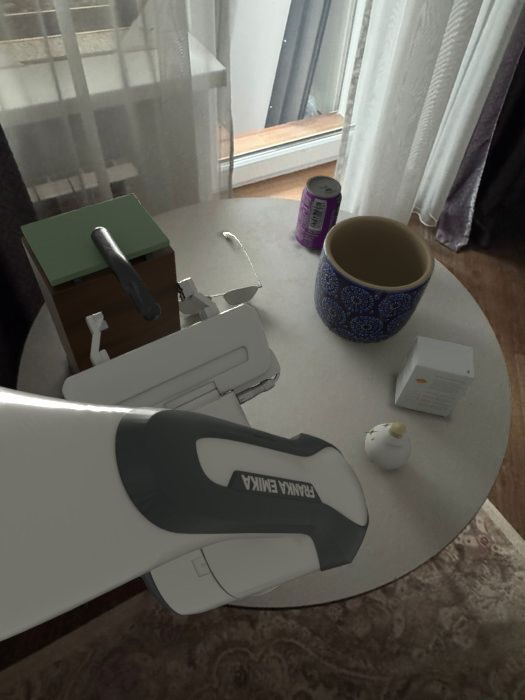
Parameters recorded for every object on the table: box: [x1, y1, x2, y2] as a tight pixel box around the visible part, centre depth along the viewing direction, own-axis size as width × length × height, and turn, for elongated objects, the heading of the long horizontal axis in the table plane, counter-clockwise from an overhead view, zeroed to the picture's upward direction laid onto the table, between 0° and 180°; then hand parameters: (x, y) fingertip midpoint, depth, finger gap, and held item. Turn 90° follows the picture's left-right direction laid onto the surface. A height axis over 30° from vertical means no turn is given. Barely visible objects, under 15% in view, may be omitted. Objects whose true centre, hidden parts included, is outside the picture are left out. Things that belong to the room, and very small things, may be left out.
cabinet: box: [20, 236, 182, 375], centre depth 66 cm, size 10×14×25 cm
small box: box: [394, 335, 475, 418], centre depth 72 cm, size 8×6×10 cm
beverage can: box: [294, 175, 343, 250], centre depth 92 cm, size 7×7×12 cm
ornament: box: [364, 421, 412, 470], centre depth 66 cm, size 6×7×10 cm
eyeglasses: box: [178, 231, 263, 315], centre depth 87 cm, size 15×18×4 cm
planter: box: [313, 215, 436, 344], centre depth 80 cm, size 16×17×15 cm
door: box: [20, 192, 171, 321], centre depth 52 cm, size 20×13×3 cm, turn 33°
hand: (139, 297), depth 49 cm, fingers open, 8 cm apart
